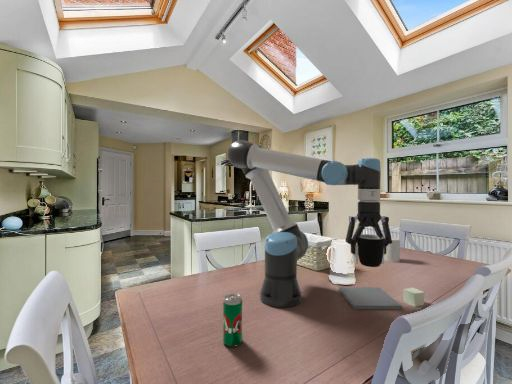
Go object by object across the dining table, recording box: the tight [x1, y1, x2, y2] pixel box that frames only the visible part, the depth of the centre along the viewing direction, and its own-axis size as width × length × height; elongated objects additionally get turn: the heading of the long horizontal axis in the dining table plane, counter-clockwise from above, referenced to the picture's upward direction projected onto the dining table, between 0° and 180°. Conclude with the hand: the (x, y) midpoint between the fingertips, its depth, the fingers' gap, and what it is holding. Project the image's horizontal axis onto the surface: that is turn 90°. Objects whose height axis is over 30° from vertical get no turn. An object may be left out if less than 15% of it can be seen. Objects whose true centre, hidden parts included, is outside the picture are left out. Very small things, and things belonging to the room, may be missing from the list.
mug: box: [356, 233, 385, 268], centre depth 94 cm, size 12×9×10 cm
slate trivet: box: [338, 286, 403, 310], centre depth 95 cm, size 16×16×1 cm
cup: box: [384, 237, 401, 263], centre depth 145 cm, size 8×8×12 cm
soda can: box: [222, 293, 243, 347], centre depth 68 cm, size 5×5×12 cm
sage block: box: [402, 287, 425, 307], centre depth 91 cm, size 4×4×4 cm
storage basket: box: [297, 232, 338, 272], centre depth 137 cm, size 24×16×15 cm
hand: (368, 262), depth 94 cm, fingers closed on mug, 9 cm apart
